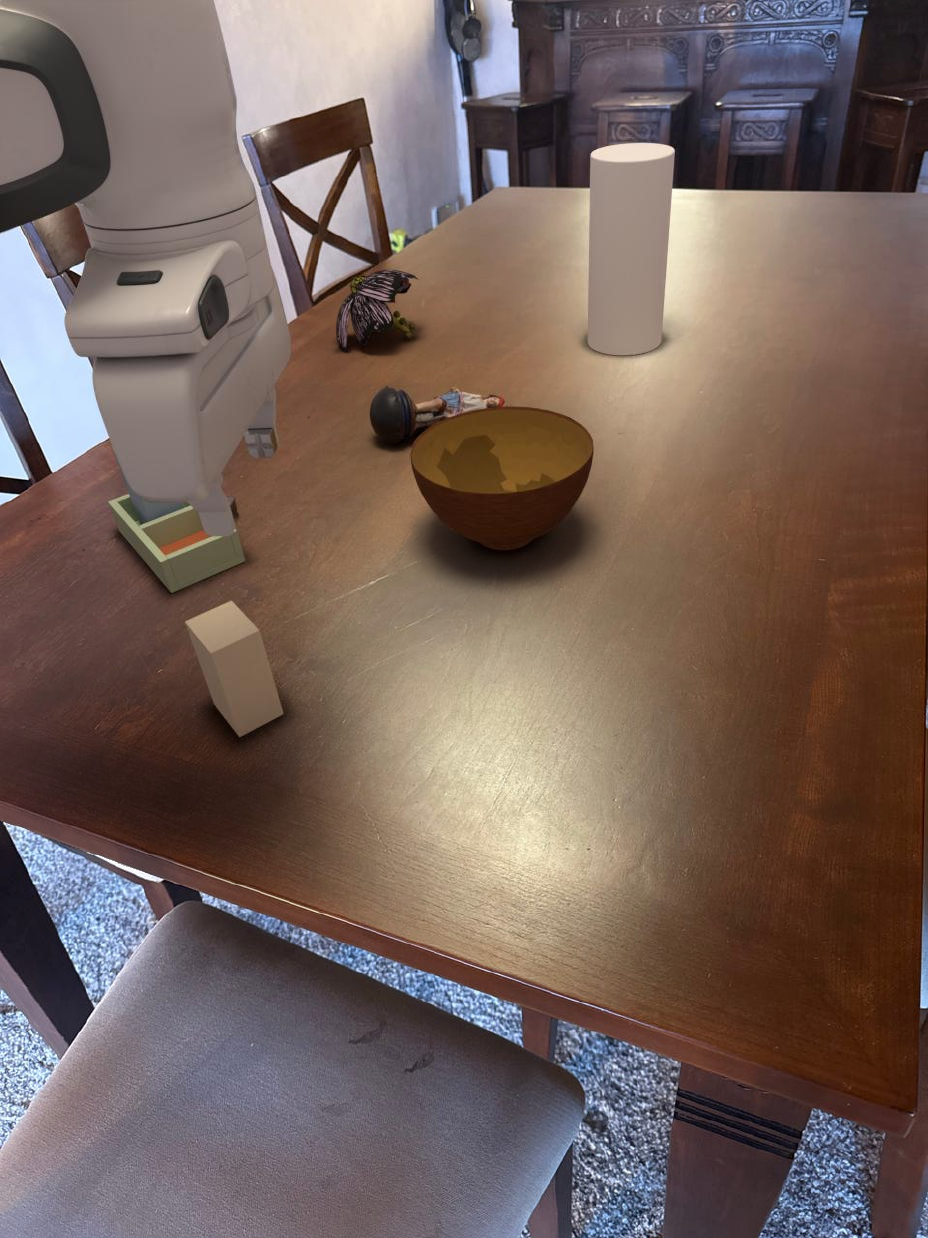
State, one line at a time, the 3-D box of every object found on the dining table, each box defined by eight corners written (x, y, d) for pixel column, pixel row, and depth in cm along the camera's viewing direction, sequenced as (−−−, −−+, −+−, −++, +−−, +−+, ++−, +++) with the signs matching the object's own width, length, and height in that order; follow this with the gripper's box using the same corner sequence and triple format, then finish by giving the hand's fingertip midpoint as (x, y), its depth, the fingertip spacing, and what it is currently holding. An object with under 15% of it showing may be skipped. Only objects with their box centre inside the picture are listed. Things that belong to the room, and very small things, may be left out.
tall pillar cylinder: (573, 345, 127) (573, 156, 111) (614, 322, 133) (621, 139, 117) (634, 361, 121) (644, 163, 105) (675, 336, 127) (690, 145, 111)
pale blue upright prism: (156, 542, 92) (129, 466, 86) (139, 523, 95) (112, 449, 89) (191, 527, 93) (167, 453, 88) (173, 510, 97) (149, 437, 91)
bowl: (586, 588, 81) (587, 496, 75) (404, 580, 84) (391, 491, 78) (596, 491, 94) (598, 406, 88) (438, 487, 98) (430, 405, 91)
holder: (171, 593, 85) (160, 562, 83) (119, 531, 95) (107, 501, 93) (245, 561, 89) (236, 530, 87) (187, 504, 99) (178, 475, 97)
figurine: (363, 374, 105) (501, 362, 110) (361, 419, 110) (494, 405, 115) (378, 412, 100) (522, 398, 105) (376, 457, 105) (513, 441, 110)
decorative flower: (350, 258, 136) (419, 238, 126) (388, 321, 143) (456, 307, 133) (299, 313, 129) (368, 297, 120) (342, 377, 136) (410, 366, 127)
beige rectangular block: (239, 737, 69) (210, 653, 64) (214, 704, 72) (184, 621, 67) (283, 714, 71) (259, 630, 65) (256, 682, 74) (231, 600, 69)
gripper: (193, 215, 55) (244, 417, 63) (45, 337, 39) (139, 583, 48) (290, 210, 54) (328, 414, 63) (179, 332, 38) (250, 583, 47)
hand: (246, 489), depth 55 cm, fingers open, 8 cm apart
